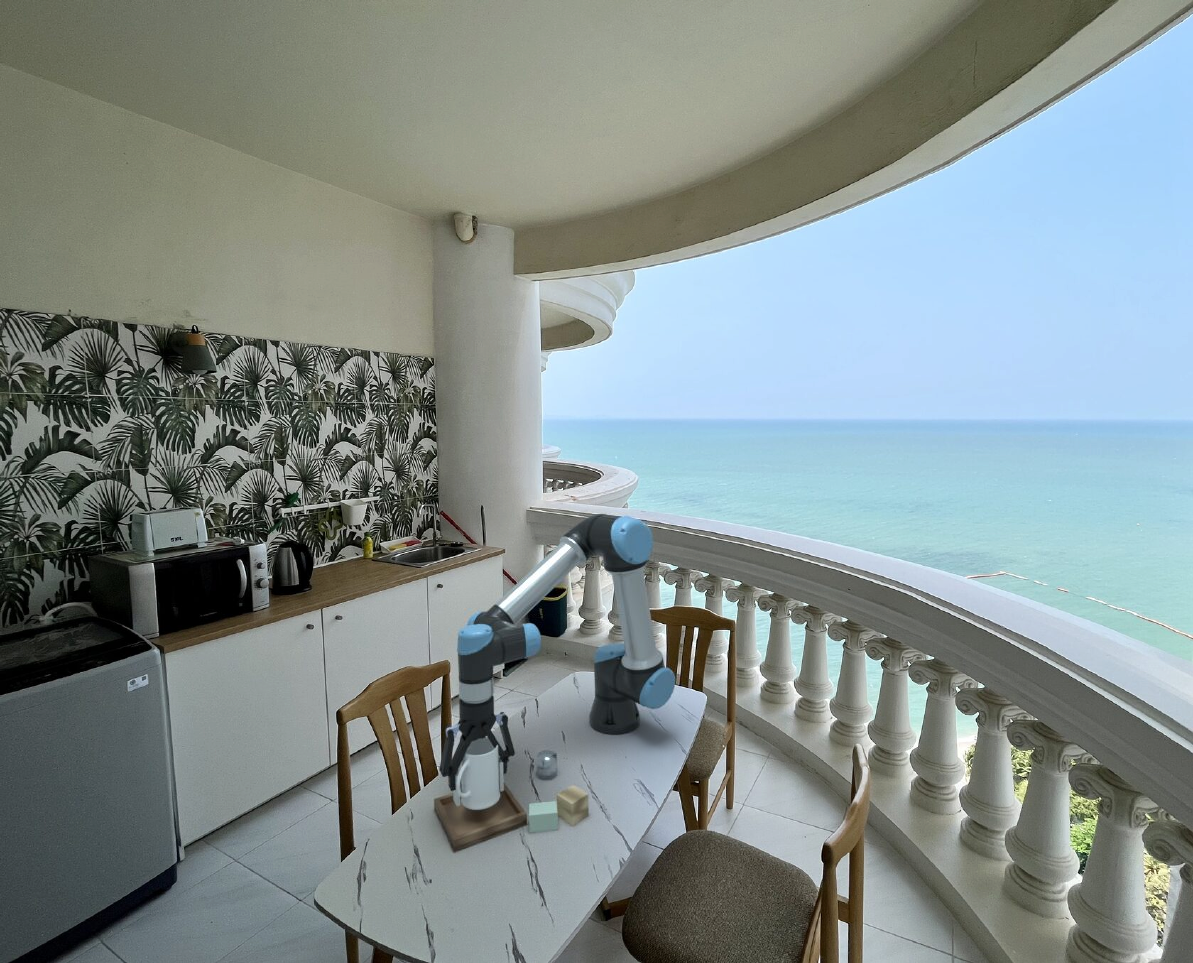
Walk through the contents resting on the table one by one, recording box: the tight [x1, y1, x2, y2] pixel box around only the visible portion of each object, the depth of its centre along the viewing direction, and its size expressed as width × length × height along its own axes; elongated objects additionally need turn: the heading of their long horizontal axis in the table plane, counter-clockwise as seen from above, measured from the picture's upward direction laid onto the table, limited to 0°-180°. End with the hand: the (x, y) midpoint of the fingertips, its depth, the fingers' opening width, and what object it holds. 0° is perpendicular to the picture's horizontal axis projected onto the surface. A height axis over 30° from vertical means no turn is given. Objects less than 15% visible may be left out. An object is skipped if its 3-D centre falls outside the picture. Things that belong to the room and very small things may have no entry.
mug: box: [457, 736, 500, 810], centre depth 123 cm, size 12×8×12 cm
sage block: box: [528, 800, 559, 834], centre depth 121 cm, size 6×4×4 cm, turn 98°
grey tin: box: [536, 749, 558, 781], centre depth 140 cm, size 5×5×5 cm
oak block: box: [556, 784, 590, 827], centre depth 124 cm, size 5×5×5 cm
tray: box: [433, 782, 528, 853], centre depth 124 cm, size 16×16×2 cm
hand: (478, 795), depth 124 cm, fingers closed on mug, 9 cm apart
